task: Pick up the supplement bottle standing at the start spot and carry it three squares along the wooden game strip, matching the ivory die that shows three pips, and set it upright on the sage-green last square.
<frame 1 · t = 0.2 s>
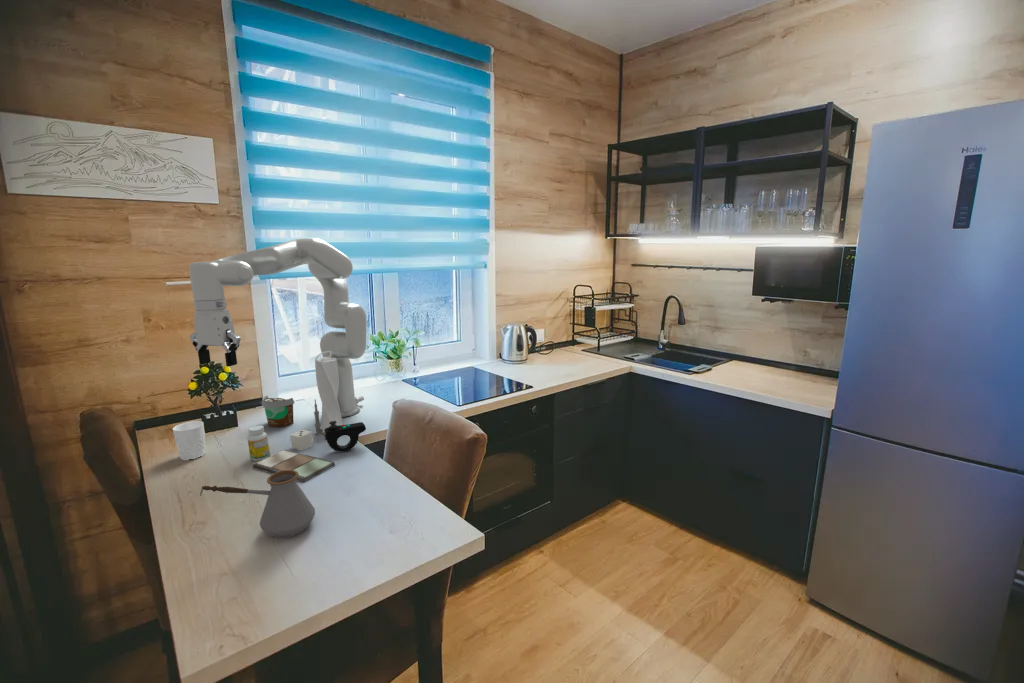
hand: (218, 364, 137), 30 cm above the table, tool pointing down, fingers open, 9 cm apart
controller: (347, 450, 149), on the table
die: (302, 446, 152), on the table
supplement bottle: (260, 457, 145), on the table
food container: (276, 426, 170), on the table
skyscraper: (332, 431, 165), on the table
coffee pot: (265, 535, 106), on the table
game strip: (294, 466, 138), on the table
white cup: (193, 456, 147), on the table
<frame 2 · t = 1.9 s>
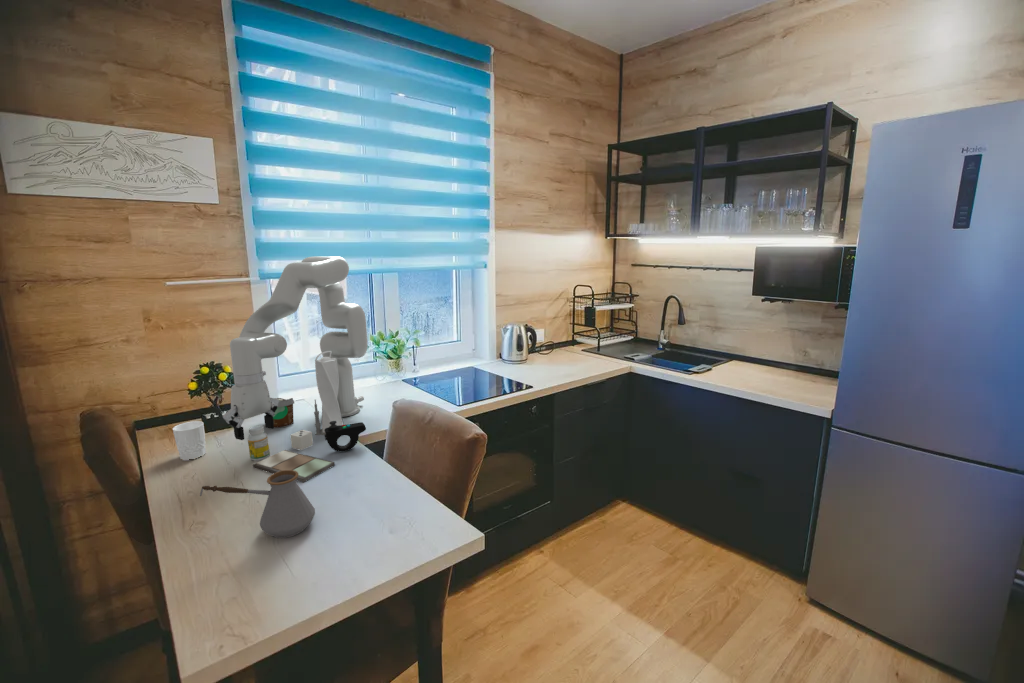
hand: (255, 433, 143), 8 cm above the table, tool pointing down, fingers open, 9 cm apart
nothing on the table moved.
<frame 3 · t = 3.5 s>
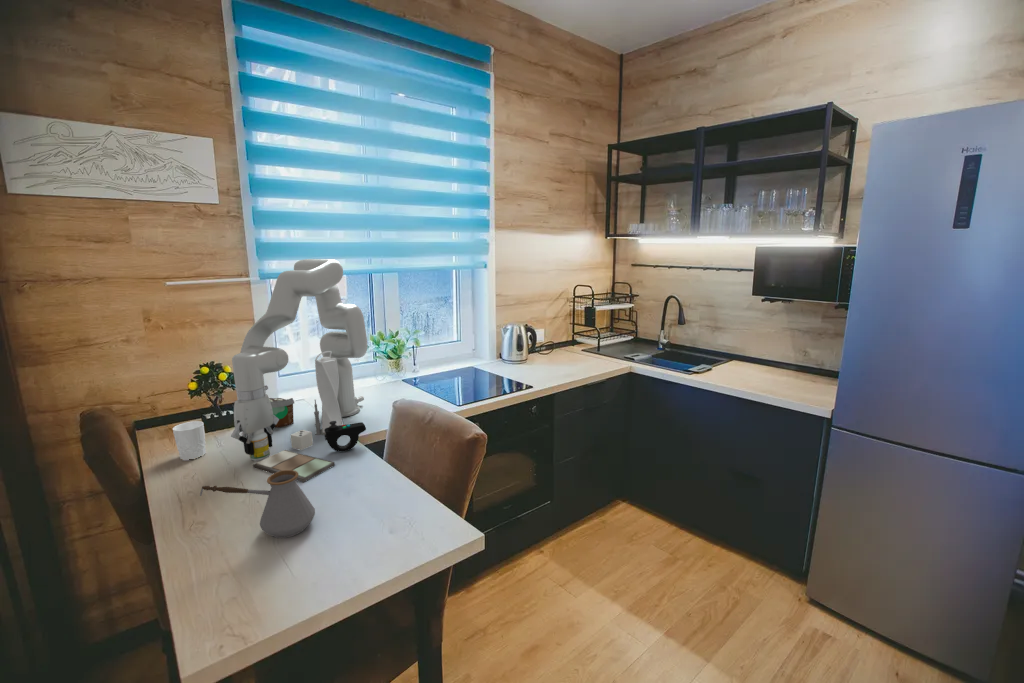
hand: (259, 449, 144), 3 cm above the table, tool pointing down, fingers closed on supplement bottle, 5 cm apart
supplement bottle: (260, 457, 145), on the table, touching gripper
everything else where it was.
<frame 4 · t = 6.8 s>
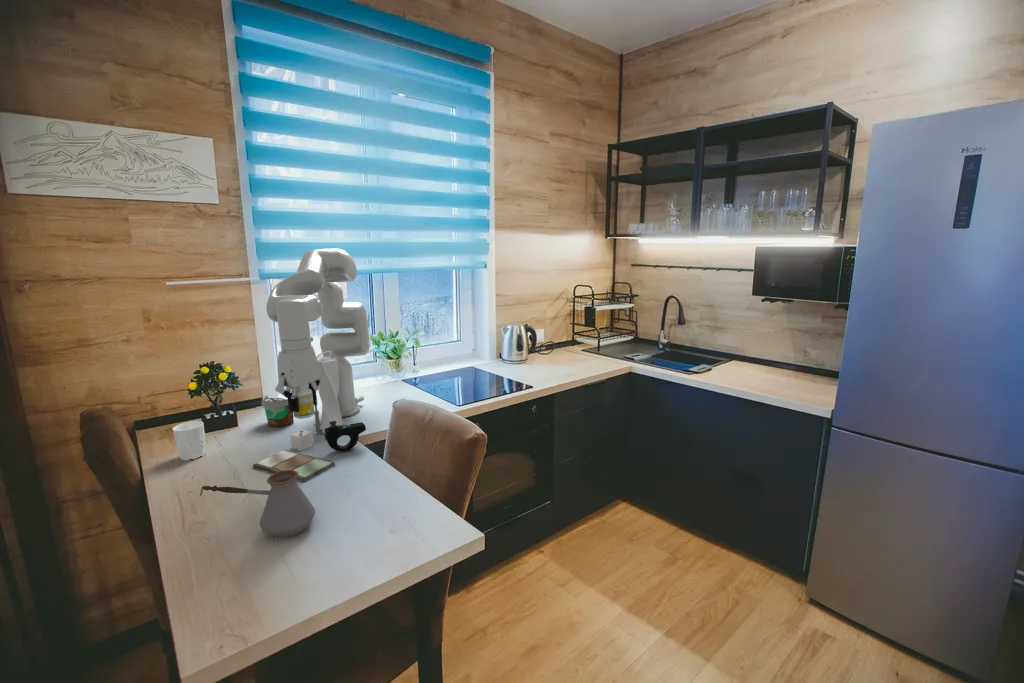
hand: (303, 407, 131), 19 cm above the table, tool pointing down, fingers closed on supplement bottle, 5 cm apart
supplement bottle: (304, 416, 132), point 17 cm above the table, touching gripper
everything else where it was.
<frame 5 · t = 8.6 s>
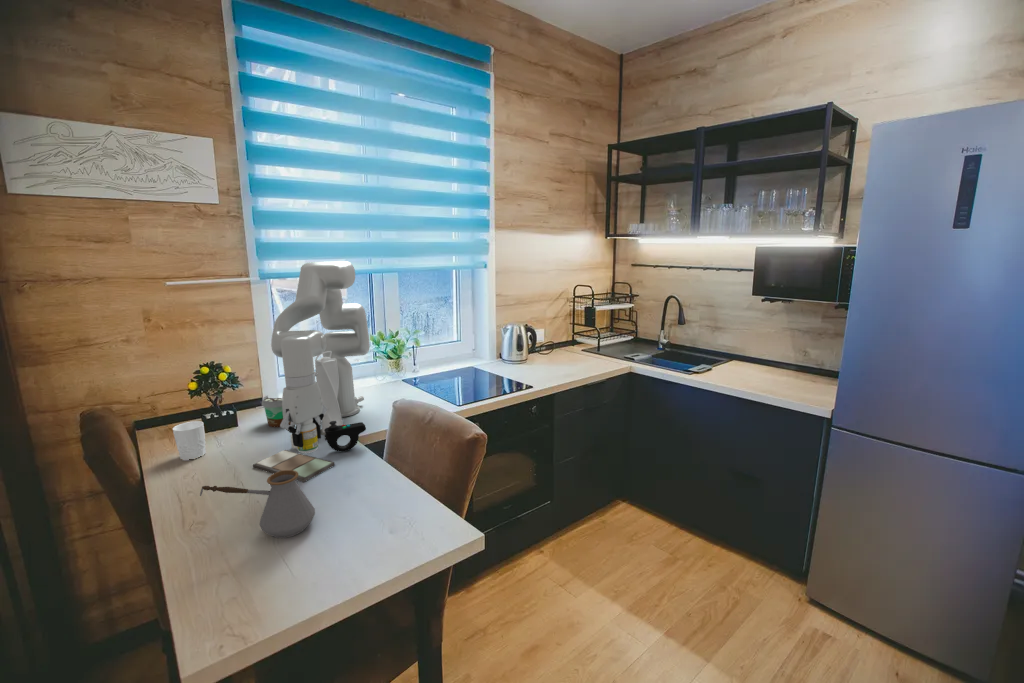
hand: (307, 441, 133), 9 cm above the table, tool pointing down, fingers closed on supplement bottle, 5 cm apart
supplement bottle: (308, 450, 134), point 6 cm above the table, touching gripper
everything else where it was.
when the fingers open (5 cm above the table, at t = 10.3 s): supplement bottle drops 1 cm, resting on game strip.
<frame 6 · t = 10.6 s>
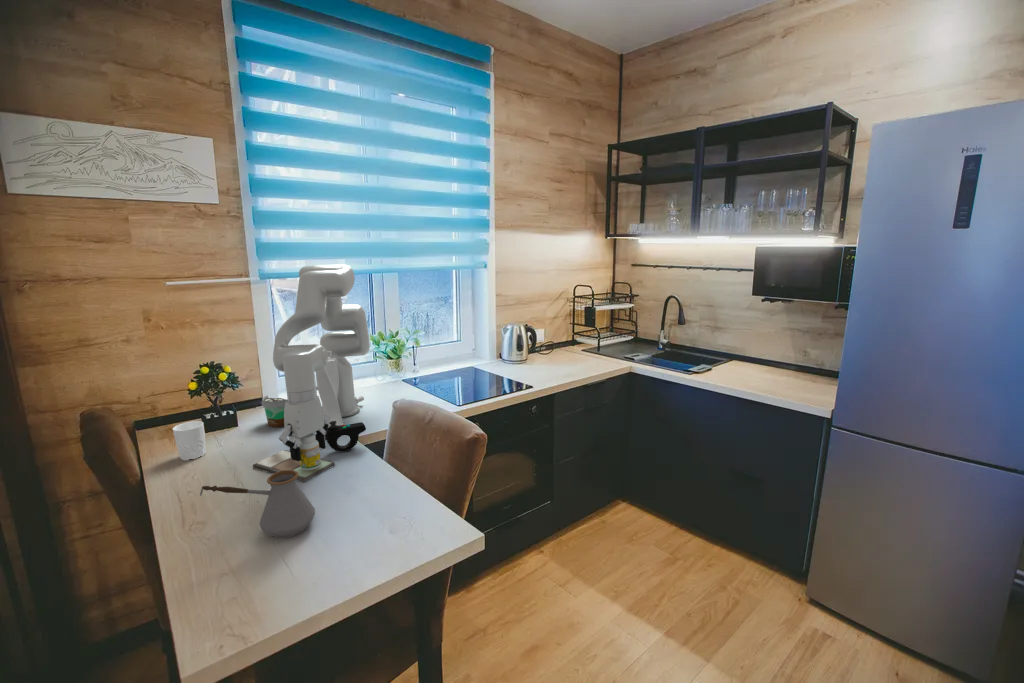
hand: (309, 453, 134), 5 cm above the table, tool pointing down, fingers open, 8 cm apart
supplement bottle: (311, 467, 135), point 1 cm above the table, touching game strip
everything else where it was.
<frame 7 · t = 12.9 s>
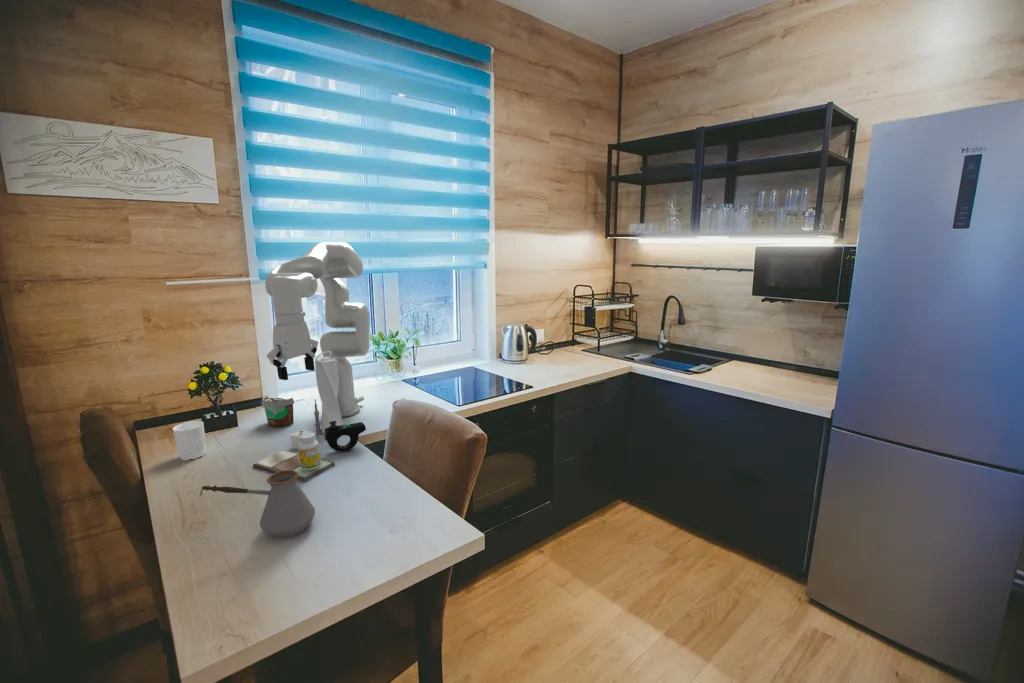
hand: (297, 374, 141), 26 cm above the table, tool pointing down, fingers open, 9 cm apart
nothing on the table moved.
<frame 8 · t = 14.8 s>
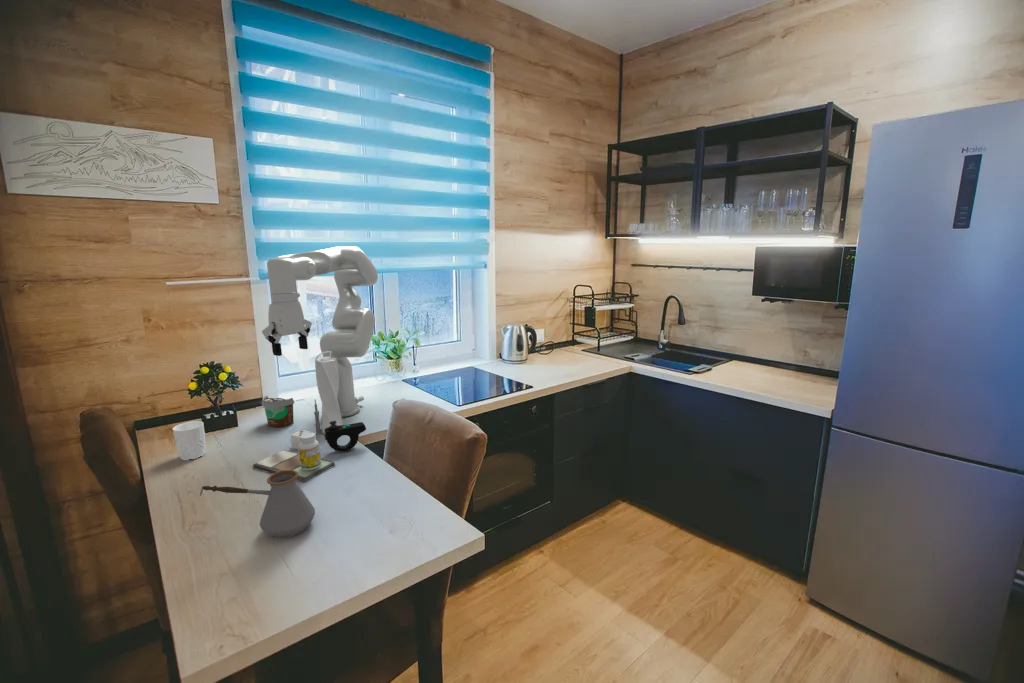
hand: (291, 352, 150), 30 cm above the table, tool pointing down, fingers open, 9 cm apart
nothing on the table moved.
at the end: supplement bottle inside the target area (0.5 cm from its centre), point 1.0 cm above the table; supplement bottle tilted 0°; the gripper is holding nothing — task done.
